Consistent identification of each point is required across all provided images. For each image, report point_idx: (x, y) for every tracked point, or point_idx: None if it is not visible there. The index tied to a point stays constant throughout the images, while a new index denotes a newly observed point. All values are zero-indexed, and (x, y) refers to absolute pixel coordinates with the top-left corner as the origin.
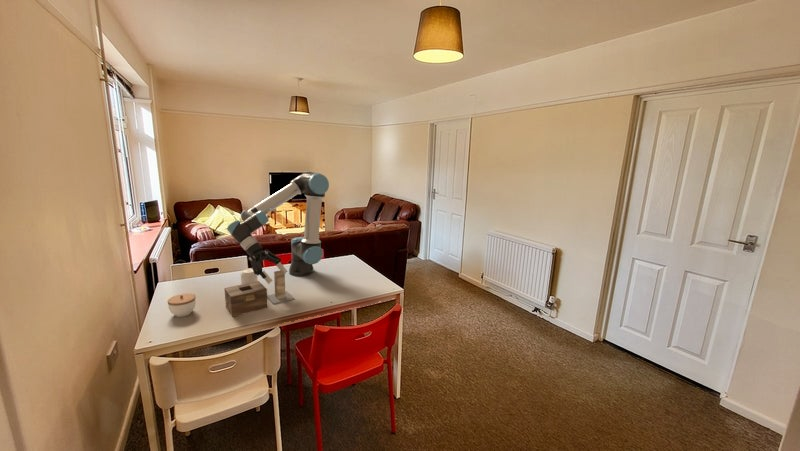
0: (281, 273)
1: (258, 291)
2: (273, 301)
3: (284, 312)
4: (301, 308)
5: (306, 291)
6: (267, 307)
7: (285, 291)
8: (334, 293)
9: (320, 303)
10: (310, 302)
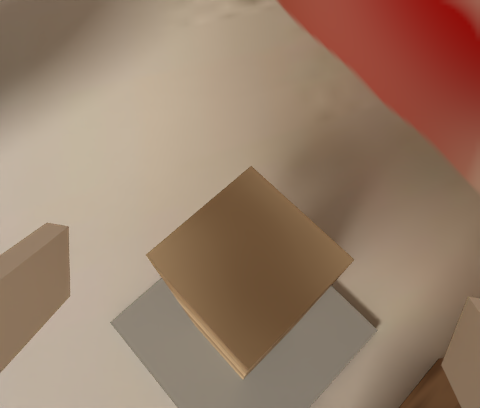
0: (290, 206)
1: None
2: (341, 349)
3: (462, 201)
4: (374, 121)
5: (96, 171)
6: (440, 359)
7: (121, 328)
8: (125, 7)
9: (280, 43)
10: (277, 96)
